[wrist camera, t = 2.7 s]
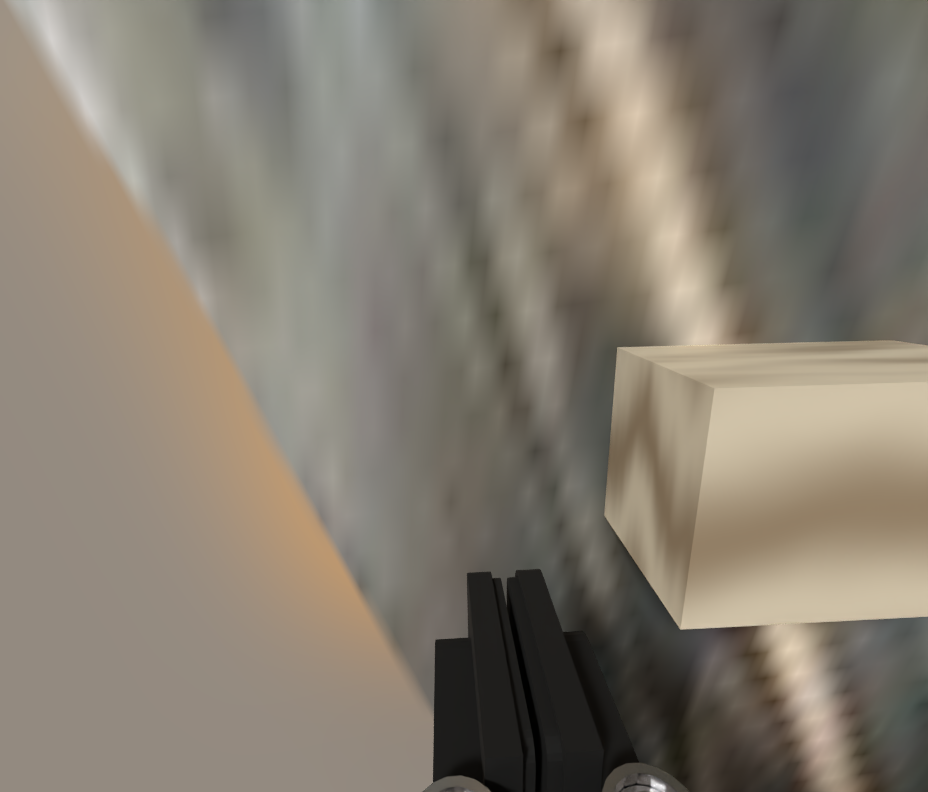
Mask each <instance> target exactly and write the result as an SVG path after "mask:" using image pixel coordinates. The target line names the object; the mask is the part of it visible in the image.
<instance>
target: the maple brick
mask: <svg viewBox="0 0 928 792" xmlns="http://www.w3.org/2000/svg"><path fill="white" fill-rule="evenodd" d="M604 516H605V517H606V519H607V520H608V522H609V523H610V525H611V526H612V528H613V529H614V531H615V532H616V534H617V535H618V537H619V538H620V540H621V541H622V543H623V544H624V546H625V547H626V549H627V550H628V552H629V553H630V555H631V556H632V558H633V559H634V561H635V562H636V564H637V565H638V567H639V568H640V570H641V571H642V573H643V574H644V576H645V577H646V579H647V580H648V582H649V583H650V585H651V586H652V588H653V589H654V591H655V592H656V594H657V595H658V597H659V598H660V600H661V601H662V603H663V604H664V606H665V607H666V609H667V610H668V612H669V613H670V615H671V616H672V618H673V619H674V621H675V622H676V624H677V625H678V627H679V628H680V630H682V629H701V628H719V627H738V626H757V625H776V624H795V623H814V622H833V621H851V620H870V619H889V618H908V617H927V616H928V346H927V345H920V344H913V343H906V342H900V341H893V340H881V341H843V342H804V343H766V344H728V345H690V346H652V347H617V360H616V373H615V386H614V399H613V412H612V424H611V437H610V450H609V463H608V476H607V489H606V502H605V514H604Z"/></svg>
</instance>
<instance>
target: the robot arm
mask: <svg viewBox="0 0 928 792" xmlns="http://www.w3.org/2000/svg"><path fill="white" fill-rule="evenodd" d="M467 599H468V638H456V639H439V640H436V641H435V691H434V757H433V758H434V759H433V783H432V784H431V785H430V786H429V787H427V788H426V789H425V790H424V791H423V792H689V791H688V790H687V789H686V787H684V786H683V785H682V784H681V783H680V782H679V781H677V780H676V779H675V778H674V777H673V776H672V775H670V774H668V773H667V772H665V771H663V770H661V769H659V768H657V767H655V766H652V765H648V764H644V763H639V761H638V759H637V756H636V754H635V751H634V749H633V747H632V744H631V742H630V739H629V737H628V735H627V732H626V730H625V727H624V725H623V722H622V720H621V718H620V715H619V713H618V710H617V708H616V706H615V703H614V701H613V698H612V696H611V694H610V691H609V689H608V686H607V684H606V681H605V679H604V677H603V674H602V672H601V669H600V667H599V665H598V662H597V660H596V657H595V655H594V652H593V650H592V648H591V645H590V643H589V640H588V638H587V636H586V634H585V633H584V632H583V631H575V632H562V629H561V626H560V623H559V620H558V617H557V615H556V612H555V609H554V606H553V603H552V600H551V597H550V595H549V592H548V589H547V586H546V583H545V580H544V577H543V575H542V572H541V570H540V569H533V570H516V573H515V577H510V578H507V607H506V602H505V597H504V592H503V587H502V582H501V579H500V578H492V575H491V572H476V573H467Z"/></svg>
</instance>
